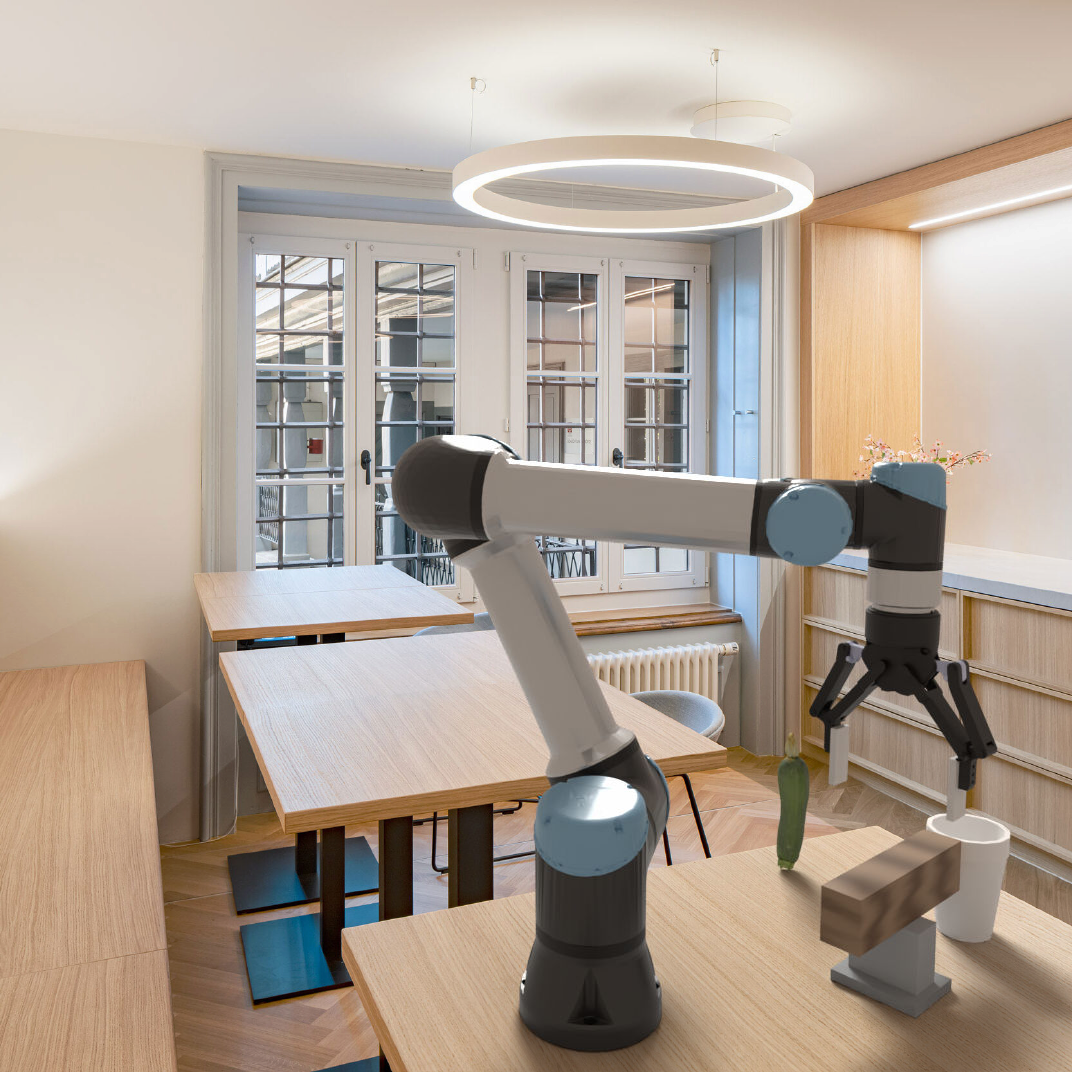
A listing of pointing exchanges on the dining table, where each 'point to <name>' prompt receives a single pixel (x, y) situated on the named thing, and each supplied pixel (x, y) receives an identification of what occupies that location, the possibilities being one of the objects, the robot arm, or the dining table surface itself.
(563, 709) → the robot arm
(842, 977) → the grey stepped block
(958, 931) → the foam cup
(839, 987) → the dining table surface
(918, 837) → the bar
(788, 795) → the vegetable
